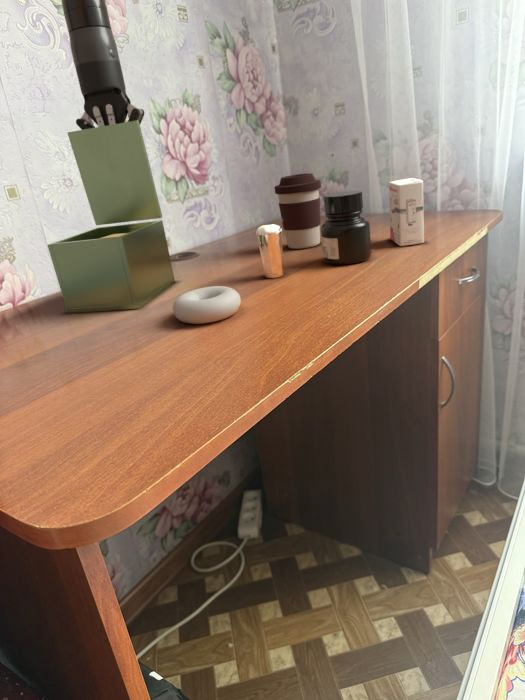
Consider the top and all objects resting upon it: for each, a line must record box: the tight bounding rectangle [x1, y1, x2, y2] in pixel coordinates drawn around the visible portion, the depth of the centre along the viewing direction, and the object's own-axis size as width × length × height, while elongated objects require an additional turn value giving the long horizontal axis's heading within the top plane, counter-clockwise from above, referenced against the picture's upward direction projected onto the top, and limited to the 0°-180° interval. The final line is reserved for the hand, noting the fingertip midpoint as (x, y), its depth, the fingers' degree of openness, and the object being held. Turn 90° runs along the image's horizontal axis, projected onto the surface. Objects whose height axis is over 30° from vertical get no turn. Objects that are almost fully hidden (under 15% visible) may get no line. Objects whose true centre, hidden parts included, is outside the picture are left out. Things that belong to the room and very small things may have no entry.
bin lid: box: [67, 120, 163, 226], centre depth 89 cm, size 16×14×1 cm
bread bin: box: [47, 219, 176, 314], centre depth 88 cm, size 16×14×12 cm
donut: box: [172, 285, 242, 325], centre depth 73 cm, size 10×4×10 cm
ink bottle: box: [320, 190, 372, 266], centre depth 91 cm, size 10×9×12 cm
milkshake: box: [255, 218, 284, 279], centre depth 88 cm, size 4×5×10 cm
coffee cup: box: [274, 172, 322, 250], centre depth 109 cm, size 10×10×15 cm
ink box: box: [388, 177, 425, 247], centre depth 99 cm, size 9×5×12 cm, turn 0°
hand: (121, 169), depth 91 cm, fingers closed
